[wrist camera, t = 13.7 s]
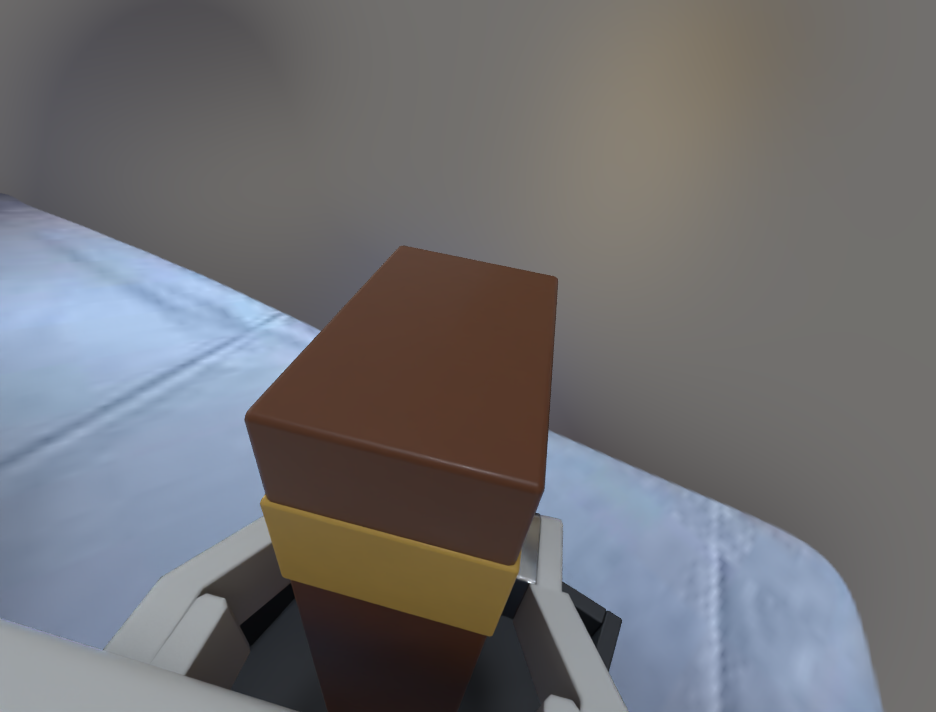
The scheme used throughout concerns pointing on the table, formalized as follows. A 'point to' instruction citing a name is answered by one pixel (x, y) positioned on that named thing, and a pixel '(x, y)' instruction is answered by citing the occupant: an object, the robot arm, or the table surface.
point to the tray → (487, 695)
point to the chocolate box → (409, 473)
